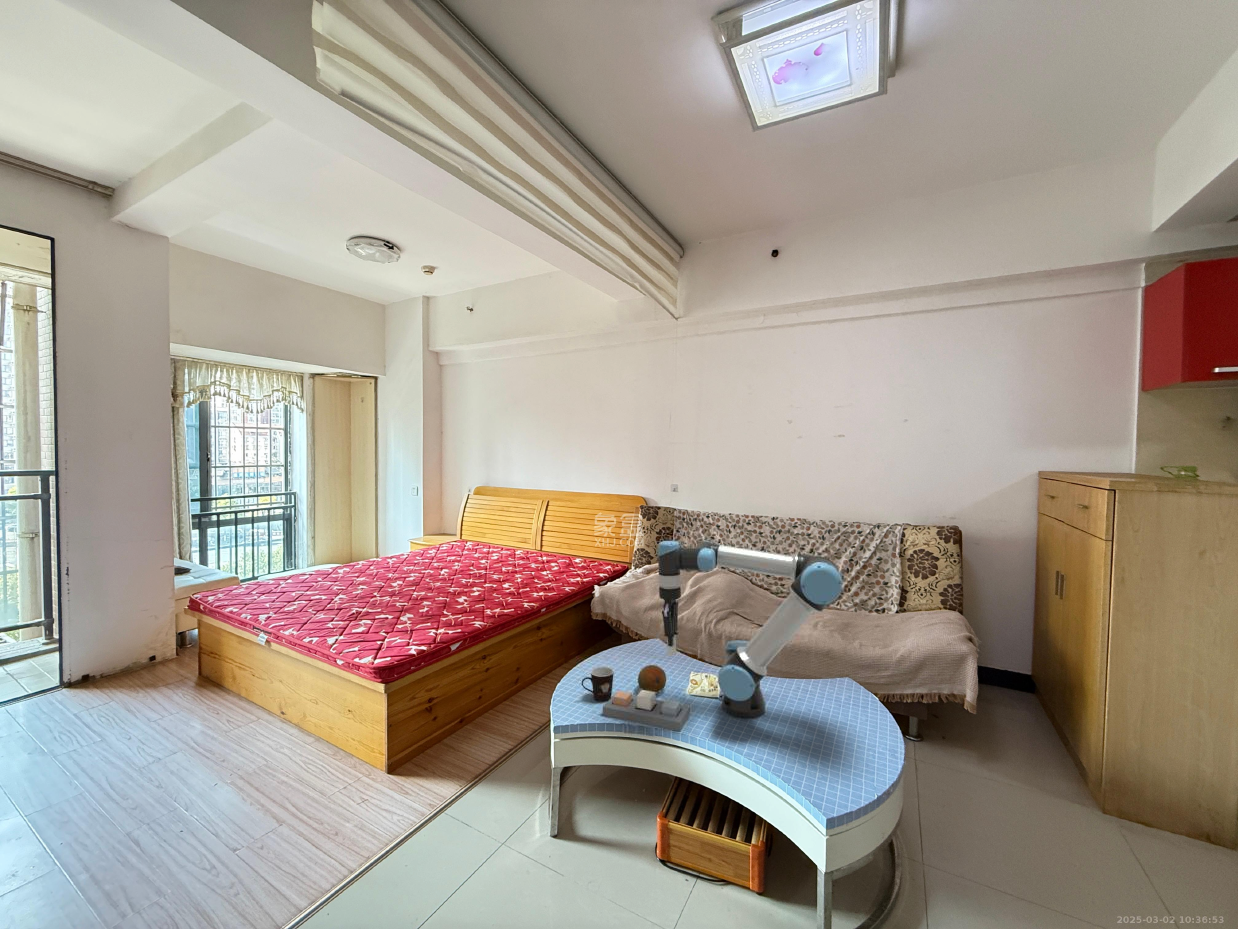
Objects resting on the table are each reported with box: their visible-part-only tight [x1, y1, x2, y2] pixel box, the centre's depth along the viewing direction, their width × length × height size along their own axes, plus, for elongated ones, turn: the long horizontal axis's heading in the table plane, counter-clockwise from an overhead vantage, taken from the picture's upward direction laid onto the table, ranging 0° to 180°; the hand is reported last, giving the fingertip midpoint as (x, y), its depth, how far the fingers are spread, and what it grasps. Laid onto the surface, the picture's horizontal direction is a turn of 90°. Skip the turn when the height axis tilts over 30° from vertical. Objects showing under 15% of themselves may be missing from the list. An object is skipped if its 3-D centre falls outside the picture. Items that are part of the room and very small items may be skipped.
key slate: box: [662, 699, 681, 717], centre depth 171 cm, size 5×5×4 cm
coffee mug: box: [581, 666, 615, 703], centre depth 188 cm, size 12×9×10 cm
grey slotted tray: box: [602, 691, 691, 732], centre depth 175 cm, size 28×12×3 cm, turn 66°
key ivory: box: [636, 689, 657, 711], centre depth 175 cm, size 5×5×4 cm
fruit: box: [637, 664, 667, 694], centre depth 193 cm, size 12×13×10 cm
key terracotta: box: [612, 690, 633, 707], centre depth 178 cm, size 5×5×4 cm
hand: (671, 654), depth 174 cm, fingers closed
